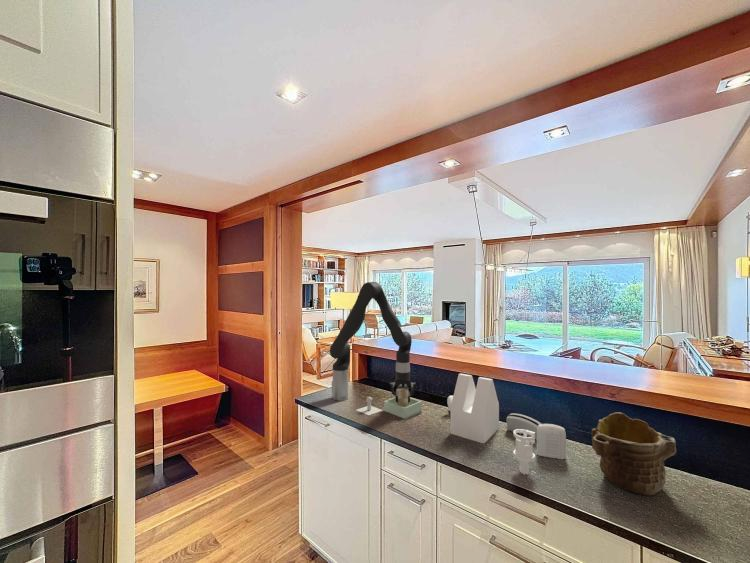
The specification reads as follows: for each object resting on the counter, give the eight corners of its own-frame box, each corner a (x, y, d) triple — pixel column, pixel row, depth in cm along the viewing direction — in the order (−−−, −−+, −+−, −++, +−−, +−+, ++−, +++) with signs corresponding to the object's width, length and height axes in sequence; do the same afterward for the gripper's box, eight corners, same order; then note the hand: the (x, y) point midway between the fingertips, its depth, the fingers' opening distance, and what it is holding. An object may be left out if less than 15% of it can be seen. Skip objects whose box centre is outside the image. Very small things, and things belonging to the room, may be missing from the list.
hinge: (548, 439, 143) (545, 419, 141) (544, 446, 140) (540, 426, 138) (512, 426, 156) (508, 408, 154) (507, 432, 153) (503, 413, 151)
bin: (383, 412, 172) (384, 401, 172) (401, 405, 182) (401, 394, 182) (404, 420, 162) (404, 408, 162) (421, 412, 172) (421, 401, 172)
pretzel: (458, 419, 163) (458, 401, 163) (440, 411, 173) (440, 394, 173) (473, 414, 170) (473, 397, 170) (455, 407, 180) (455, 391, 180)
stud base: (355, 411, 173) (355, 396, 173) (369, 406, 180) (369, 392, 180) (368, 417, 166) (368, 401, 166) (382, 412, 173) (382, 396, 173)
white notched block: (467, 420, 163) (467, 369, 164) (498, 428, 154) (498, 375, 154) (450, 433, 148) (450, 378, 148) (484, 443, 139) (484, 384, 139)
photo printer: (564, 455, 129) (564, 424, 129) (567, 461, 125) (567, 428, 125) (535, 451, 132) (535, 420, 132) (537, 456, 128) (537, 425, 128)
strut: (398, 410, 169) (398, 386, 169) (397, 406, 174) (397, 383, 174) (407, 410, 169) (408, 386, 169) (407, 406, 174) (407, 383, 174)
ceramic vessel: (673, 498, 90) (611, 408, 105) (602, 511, 107) (557, 431, 122) (713, 477, 100) (651, 397, 114) (642, 492, 117) (596, 420, 131)
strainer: (533, 480, 113) (533, 436, 113) (511, 473, 116) (511, 431, 117) (536, 470, 119) (535, 428, 119) (515, 464, 122) (515, 424, 123)
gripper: (389, 372, 168) (389, 405, 168) (417, 372, 168) (417, 405, 168) (389, 368, 176) (388, 400, 176) (415, 368, 176) (415, 400, 176)
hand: (402, 402), depth 172 cm, fingers closed on strut, 5 cm apart
